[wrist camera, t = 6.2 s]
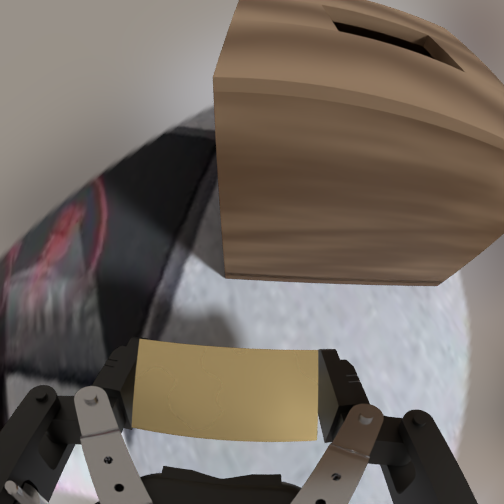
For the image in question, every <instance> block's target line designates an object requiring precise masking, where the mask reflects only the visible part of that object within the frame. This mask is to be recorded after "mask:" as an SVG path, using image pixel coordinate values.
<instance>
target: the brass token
mask: <svg viewBox="0 0 504 504" xmlns="http://www.w3.org/2000/svg"><path fill="white" fill-rule="evenodd" d="M317 423H318V350H271V349H246V348H229V347H214V346H202V345H190V344H180V343H171V342H162V341H153V340H146V339H140V340H139V348H138V356H137V365H136V375H135V386H134V397H133V411H132V428H137V429H142V430H148V431H153V432H159V433H166V434H172V435H179V436H187V437H196V438H205V439H217V440H231V441H255V442H290V441H313V440H317Z"/></svg>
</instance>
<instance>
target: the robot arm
mask: <svg viewBox="0 0 504 504" xmlns="http://www.w3.org/2000/svg"><path fill="white" fill-rule="evenodd" d="M140 339H146V340H149V339H148V338H140V337H131V339H130V341H129V342H128V344H127V346H120V347H118V348H117V349H115V350H114V351H113V352H112V353H111V355H110V357H109V358H108V360H107V361H106V363H105V366H103V368H102V370H101V371H100V373H99V375H98V376H97V378H96V380H95V381H94V383H93V385H92V386H88V387H84V388H82V389H80V390H79V391H78V392H77V393H76V394H75V396H57V394H56V392H55V390H54V389H53V388H52V387H50V386H46V385H41V386H37V387H34V388H33V389H31V390H30V391H29V393H28V394H27V395H26V397H25V398H24V399H23V401H22V402H21V403H20V405H19V406H18V407H17V409H16V410H15V412H14V413H13V414H12V416H11V417H10V419H9V420H8V421H7V423H6V424H5V426H4V427H3V429H2V430H1V432H0V504H49V500H50V498H51V496H52V493H53V491H54V489H55V487H56V484H57V482H58V480H59V478H60V476H61V473H62V471H63V469H64V467H65V465H66V463H67V461H68V459H69V456H70V454H71V452H72V450H73V448H74V446H75V444H81V445H82V448H83V452H84V456H85V459H86V462H87V466H88V469H89V472H90V475H91V478H92V481H93V484H94V487H95V490H96V493H97V496H98V498H99V502H97V503H95V504H348V503H349V501H350V499H351V497H352V495H353V493H354V491H355V489H356V487H357V485H358V483H359V481H360V479H361V477H362V475H363V472H364V470H365V468H366V466H367V464H368V463H370V464H380V466H381V468H382V471H383V474H384V477H385V480H386V483H387V486H388V489H389V492H390V495H391V498H392V501H393V504H478V503H477V501H476V499H475V497H474V495H473V493H472V491H471V489H470V487H469V485H468V483H467V481H466V479H465V477H464V475H463V473H462V471H461V469H460V467H459V465H458V463H457V461H456V459H455V458H454V456H453V454H452V452H451V450H450V448H449V446H448V445H447V443H446V441H445V439H444V437H443V436H442V434H441V432H440V430H439V429H438V427H437V425H436V423H435V422H434V420H433V418H432V417H431V416H430V415H429V414H428V413H426V412H424V411H422V410H411V411H408V412H407V413H406V414H405V415H404V417H403V418H395V417H387V416H383V414H382V412H381V410H379V409H378V408H377V407H375V406H373V405H370V403H369V401H368V398H367V396H366V394H365V391H364V389H363V387H362V384H361V382H360V380H359V378H358V376H357V373H356V371H355V369H354V366H352V365H351V364H350V363H349V362H348V361H347V360H340V358H339V356H338V353H337V351H336V349H319V350H318V416H319V420H320V424H321V429H322V433H323V437H324V442H325V443H328V442H332V443H331V444H330V445H329V446H328V448H327V450H326V451H325V453H324V455H323V456H322V458H321V459H320V461H319V463H318V464H317V466H316V467H315V469H314V470H313V472H312V474H311V475H310V477H309V478H308V480H307V481H306V483H305V484H304V485H303V487H302V488H300V487H298V486H296V485H293V484H290V483H286V482H281V474H275V475H256V474H251V475H246V476H239V477H233V478H226V479H219V478H215V477H212V476H209V475H205V474H202V473H199V472H196V471H193V470H187V469H180V468H173V467H167V466H163V470H162V473H156V474H150V475H145V476H142V477H139V474H138V472H137V470H136V468H135V466H134V464H133V461H132V459H131V457H130V455H129V452H128V450H127V447H126V445H125V443H124V440H123V438H122V435H121V433H122V431H123V428H126V429H131V430H132V429H133V428H132V411H133V397H134V386H135V375H136V365H137V356H138V348H139V340H140Z"/></svg>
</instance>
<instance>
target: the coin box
mask: <svg viewBox="0 0 504 504" xmlns="http://www.w3.org/2000/svg"><path fill="white" fill-rule="evenodd" d="M213 92H214V115H215V135H216V154H217V170H218V186H219V201H220V216H221V229H222V242H223V255H224V267H225V278H227V279H244V280H263V281H283V282H305V283H330V284H361V285H403V286H438V285H439V284H441V283H442V282H444V281H445V280H446V279H448V278H449V277H450V276H452V275H453V274H454V273H456V272H457V271H458V270H460V269H461V268H462V267H464V266H465V265H466V264H467V263H468V262H470V261H471V260H473V259H474V258H475V257H476V256H477V255H479V254H480V253H481V252H482V251H484V250H485V249H486V248H487V247H489V246H490V245H491V244H492V243H493V242H494V241H496V240H497V239H498V238H499V237H500V236H501V235H503V234H504V85H503V84H502V82H501V81H500V80H499V79H498V78H497V77H496V76H495V75H494V74H493V73H492V72H491V70H490V69H489V68H488V67H487V66H486V65H485V64H484V63H483V62H482V61H481V60H480V59H479V58H478V57H477V56H476V55H474V54H473V53H472V52H471V51H470V50H469V49H468V48H467V47H466V46H465V45H464V44H463V43H461V42H460V41H459V40H458V39H457V38H456V37H455V36H453V35H452V34H451V33H450V32H449V31H447V30H446V29H445V28H443V27H441V26H438V25H436V24H434V23H431V22H429V21H426V20H424V19H421V18H419V17H416V16H413V15H411V14H408V13H406V12H403V11H400V10H397V9H394V8H391V7H387V6H385V5H381V4H378V3H375V2H371V1H367V0H239V2H238V4H237V7H236V10H235V12H234V15H233V18H232V21H231V24H230V26H229V29H228V32H227V36H226V38H225V41H224V44H223V47H222V50H221V53H220V56H219V59H218V63H217V66H216V69H215V72H214V75H213Z"/></svg>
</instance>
